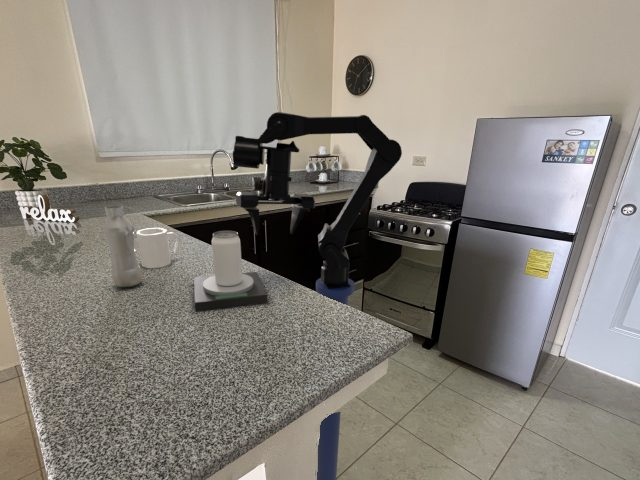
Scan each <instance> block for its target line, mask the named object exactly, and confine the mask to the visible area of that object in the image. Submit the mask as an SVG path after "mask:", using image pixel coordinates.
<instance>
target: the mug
mask: <svg viewBox="0 0 640 480" xmlns="http://www.w3.org/2000/svg"><path fill="white" fill-rule="evenodd" d="M135 235H136V241H137V246H138V253H139V257H140V264H141V267H143V268H146V269H158V268H159V269H160V268H163V267H166V266H169V265H171V263H172V256H171V251H170V245H169V244H170V243H169V238H170V237H172V238H173V239H174V240H176V241H175V244H174V247H173V253H174V254H177V255H180V251H181V246H182V239H181V238H180V237H179V236H178V235H177V234H175V232H173V231H170V232H169V231H168V229H166V228H163V227H146V228H143V229H139V230H137V231H136V233H135Z"/></svg>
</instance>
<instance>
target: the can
mask: <svg viewBox="0 0 640 480" xmlns="http://www.w3.org/2000/svg"><path fill="white" fill-rule="evenodd" d="M211 251H212V262H213V273H214V275H215V282H216V283H217V284H218V285H220V286H226V287H228V286H235V285H238V284H240V283H241V281H242V273H243V261H242V245H241V239H240V236H239V233H238V232H237V231H234V230H219V231H215V232H213V233H212V238H211Z"/></svg>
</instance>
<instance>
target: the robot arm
mask: <svg viewBox="0 0 640 480" xmlns="http://www.w3.org/2000/svg"><path fill="white" fill-rule="evenodd" d="M339 134H340V135H346V134H347V135H348V134H357V136H358V137H359V138H360V139H361V140H362V142H364V144H365V145H366V147H368V149H370V153H369V155H368V159H367V162H366V165H365V169H364V172H363V174H362V176H361V177H360V178H359V180H358V182H357V184H356V185H355V187H354V189H353V190H352V192H351V193H350V196H349V197H348V199H347V201H346V202H345V203H344V206H343V207H342V209H341V211H340V212H339V214H338V215H337V217H336V219H335V220H334V221H333V222H332V223H331V224H330V225H329V223H326V222H325V223H324V225H323V228H322V230H321V232H320V233H319V234H318V235H317V239H318V241H317V246H318V253H319V255H320V257H321V258H322V259H324V260H323V265H322V266H321V269H320V278H321V281H322V282H323V284H324V285H325V286H326V287H327V288H328V289H333V288H342V287H350V286H351V284H350V283H349V282H348V278H349V279H350V277H349V276H350V258H349V255H348V252H347V249H345V245H346V241H347V238H348V234H349V231H350V229H351V227H352V226H353V224H354V223H355V222H356V219H357V218H358V216H359V214H361V211H362V210H363V208H364V206H365V205H366V203H367V202H368V200H369V199H370V197H371V195H372V194H373V192H374V190H375V188H376V187H377V186H378V184H379V182H380V181H381V180H382V179H383V178H384V177H386V176H387V175H388V174H389V173H390V172H391V171H392V169H393V168H394V167H395V166H396V165H397V164H398V163H399V161H400V160H401V158H402V155H403V152H402V146H401V144H400V143H399V142H398V141H397V140H394V139H391V138H389V137H388V136H387V134H385V133H384V132H383V131H382V130H381V129H380V128H379V127H378V126H377V125H376V124H375V123H374V122H373V121H372V119H371V118H370V117H369V116H368V115H367V114H360V115H355V116H354V115H353V116H352V115H351V116H350V115H349V116H344V115H343V116H305V115H304V116H303V115H299V114H293V113H287V112H282V111H277V112H273V113H272V114H271V115H270V116H269V117H268V119H267V121H266V129H265V130H264V131H263V133H262V134H259V137H258V138H255V137H254V138H253V137H245V136H242V135H235V138H234V139H235V140H234V145H233V151H232V164H233V166H234V167H235V168H236V167H237V168H248V169H258V170H259V169H260V165H264V164H265V165H266V166H265V172H264V175H263V179H262V178H261V177H257V176H254V177H252V178H251V190H252V191H238V192H237V193H236V195H235V203H236V204H237V205H238V206H239V207H240V208H242V209H243V210H244V211H245V212H247V213H248V215H249V217H250V220H251V224H252V226H253V230H254V233H255V235H256V236H259V233H260V209H259V208H258V206H259V205H290V206H291V217H290V218H291V219H290V225H289V234H290V235H294V233H295V231H296V230H297V228H298V226H299V224H300V222H301V221H302V219H303V218H304V216H305V215H306V214H307V213H309V212H310V210H311V209H315V208H316V199H315V197H314V196H313V195H311V194H308V193H304V192H303V193H301V192H300V193H299V192H298V193H297V192H294V193H293V195H292V196H291V194H290V182H292V176H291V167H292V166H291V163H292V153H300V148H299V147H298V146H297V145H296V143H295V141H294V140H292V141H291V142H290V143H285V142H277V143H276V146H265V145H266V144H270V143H273V142H275V141H285V140H290V139H294V138H300V137H303V136H308V135H339ZM264 144H265V145H264ZM265 150H266V152H265ZM265 153H266V158H265ZM265 159H266V163H265ZM255 192H258V195H257V194H256V193H255Z"/></svg>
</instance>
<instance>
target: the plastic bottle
mask: <svg viewBox="0 0 640 480" xmlns="http://www.w3.org/2000/svg"><path fill="white" fill-rule="evenodd" d="M104 210H105V216H107V218H106V220H105V222H104V224H103V226H102V227H103V228H102V232H103V233H102V234H103V235H104V238H105V241H106V243H107V247H108V250H109V252H110V253H109V255H110V260H111V279H112V281H113V283H114V284H115V286H117V287H118V288H119V287H120V288H130V287H134V286H137V285H139V284H140V283H141V282H142V279H143V272H142V270H141V267H140V265H139V261H138V258H137V254H136V249H135V248H136V247H135V227H134V225H133V223H132V222H131V221H130V220H129V219H128V218H127V217H126V216H125V214H126V212H125V210H124V206H123V205H107V206H104Z"/></svg>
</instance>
